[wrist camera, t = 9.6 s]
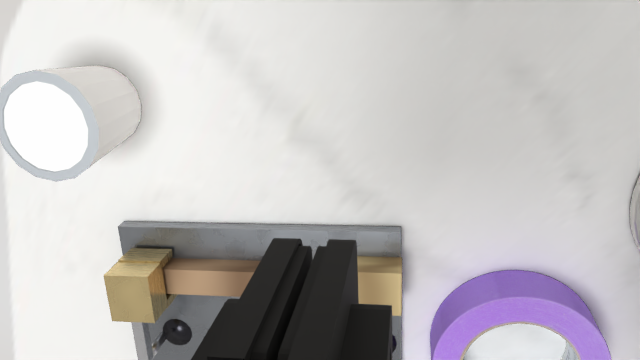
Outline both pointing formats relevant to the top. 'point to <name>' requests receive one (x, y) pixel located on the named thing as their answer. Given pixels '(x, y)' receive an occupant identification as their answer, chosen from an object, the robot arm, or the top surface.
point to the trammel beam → (233, 275)
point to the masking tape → (515, 314)
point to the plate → (238, 244)
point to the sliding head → (140, 295)
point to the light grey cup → (66, 118)
